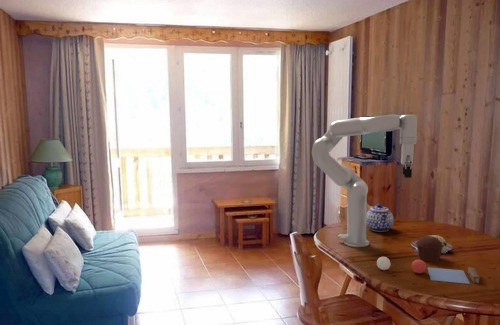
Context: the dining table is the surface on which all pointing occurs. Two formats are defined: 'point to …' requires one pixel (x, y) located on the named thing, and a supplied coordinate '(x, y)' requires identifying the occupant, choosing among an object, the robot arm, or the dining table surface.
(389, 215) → the teapot
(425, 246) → the muffin
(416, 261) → the red ball
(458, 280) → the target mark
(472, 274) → the stopper wall
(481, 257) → the dining table surface
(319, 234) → the dining table surface
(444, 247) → the seashell
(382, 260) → the cue ball
